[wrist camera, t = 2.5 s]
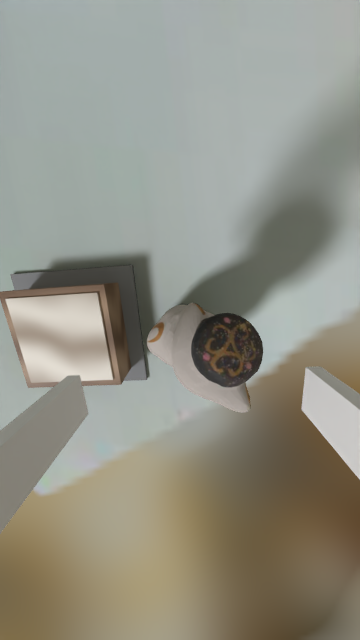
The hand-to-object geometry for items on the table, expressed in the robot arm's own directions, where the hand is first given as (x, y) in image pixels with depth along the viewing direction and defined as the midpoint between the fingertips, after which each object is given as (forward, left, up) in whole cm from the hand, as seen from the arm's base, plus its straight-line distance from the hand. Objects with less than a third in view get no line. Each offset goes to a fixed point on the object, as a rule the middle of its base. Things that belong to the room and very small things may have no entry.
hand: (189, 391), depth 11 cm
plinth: (0, -15, -14) cm, 20 cm away
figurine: (0, 0, -14) cm, 14 cm away
